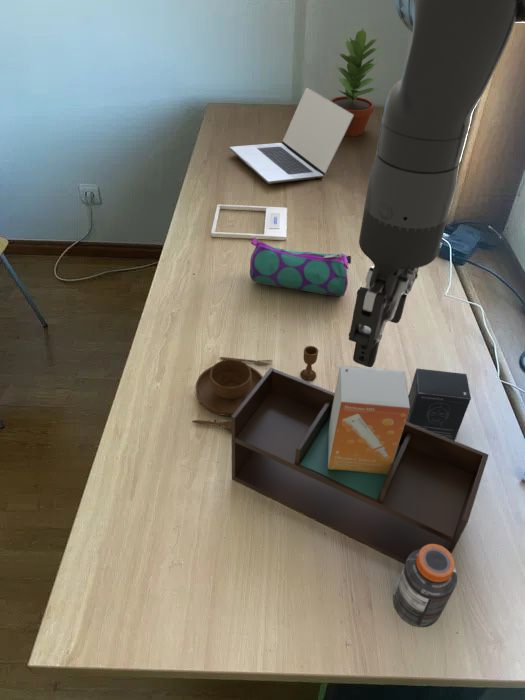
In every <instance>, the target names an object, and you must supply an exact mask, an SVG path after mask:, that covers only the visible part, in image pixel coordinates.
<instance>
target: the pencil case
mask: <svg viewBox="0 0 525 700" xmlns="http://www.w3.org/2000/svg"><path fill="white" fill-rule="evenodd" d="M250 243H251V245H252V246H255V247H254V249H253V251H252V253H251V255H250V261H249V277H250V279H251V280H252V281H253V282H255V283H259V284H261V285H267V286H272V287H280V288H286V289H287V288H288V289H293V290H299V291H303V292H308V293H315V294H321V295H326V296H335V297H343V296H345V295H346V292H347V289H348V284H349V280H348V269H349V265H351V264H352V256H351V255H347V254H346V253H323V252H322V253H321V252H320V253H318V252H313V251H295V250H287V249H284V248H279V247H274V246H272V245H270V244H268V243H266V242H263V241H260V240H259V241H258V239H256V238H255V237H254V238H253V239H252V240H251V242H250Z"/></svg>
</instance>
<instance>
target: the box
mask: <svg viewBox="0 0 525 700" xmlns="http://www.w3.org/2000/svg"><path fill="white" fill-rule="evenodd" d="M469 385H470V384H469V379H468V375H467V373H461V372H452V371H445V370H444V371H443V370H435V369H434V370H433V369H425V368H418V367H417V368H415V371H414V375H413V379H412V383H411V385H410V390H409V392H408V397H409V405H410V410H409V413H408V416H407V419H406V422H409V423H411V424H414V425H416V426H419V427H421V428H424V429H426V430H429V431H431V432H434V433H436V434H439V435H441V436H444V437H446V438H449V439H451V440H454V441H456V439H457V437H458V434H459V431H460V428H461V425H462V423H463V420H464V418H465V415H466V414H467V413H466V412H467V411H468V408H469V404H470V402H471V400H472V395H471V390H470V386H469Z"/></svg>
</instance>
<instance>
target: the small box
mask: <svg viewBox="0 0 525 700" xmlns="http://www.w3.org/2000/svg"><path fill="white" fill-rule="evenodd" d="M334 393H335V396H334V401H333V406H332V412H331V418H330V424H329V431H328V469H331V470H347V471H358V472H368V473H378V474H386V475H388V474H389V472H390V470H391V467H392V463H393V460H394V457H395V454H396V451H397V448H398V445H399V441H400V438H401V435H402V432H403V429H404V426H405V422H406V419H407V416H408V413H409V410H410V405H409V397H408V396H409V391H408V381H407V373H406V371H404V370H398V369H397V370H395V369H385V368H377V367H366V366H363V367H362V366H361V367H360V366H348V365H347V366H346V365H339V368H338V373H337V379H336V385H335V390H334Z"/></svg>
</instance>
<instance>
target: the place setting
mask: <svg viewBox="0 0 525 700" xmlns="http://www.w3.org/2000/svg"><path fill="white" fill-rule="evenodd" d="M318 356H319V349H318V348H317V347H316V346H313V345H307V346H305V347H304V349H303V356H302V357H303V362H304V364H306V367H305V368H304V369H302V370H301V371H300V375H299V376H300V377H301V379H302V380H303V381H313V380H315V379H316V377H317V373H316V371H315V370H313V366H312V365H314V364H316V363H317V360H318ZM219 359H221V360H220V361H218V362H216V363H215V364H213V365H212V366H210V367H208V368H206V369H205V370H204V371H202V372H201V374H199V376H198V378H197V380H196V382H195V395H196V398H197V400H198V401H199V402H200V405H202V406H203V407H204V408H205V409H207V410H208V411H210V412H211V413H214V414H217V415H220V416H229V417H231V416H232V415H233V414H234V413H235V411H236V410H237V409H238V407H239V406H240V405H241V404H242V402H243V401H244V400H245V399H246V397H247V396H248V395H249V394H250V392H251V391H252V390H253V389H254V387H255V386H256V385H257V384H258V382H259V381H260V380H261V379H262V377H263V375H262V374H261V373H260V371H258V369H256V368H254V367H252V366H250V365H248V364H247V363H254V364H256V365H257V366H260V365H262V366H271V365H273V359H265V360H264V359H263V360H260V359H259V360H255V359H254V360H253V359H247V358H246V359H244V358H237V357H229V356H228V357H226V356H220V357H219ZM246 362H247V363H246ZM192 423H195V424H203V425H217V426H223V427H225V429H228V430H231V420H229V421H225V422H224V421H223V422H221V421H210V420H201V419H193V420H192Z"/></svg>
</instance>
